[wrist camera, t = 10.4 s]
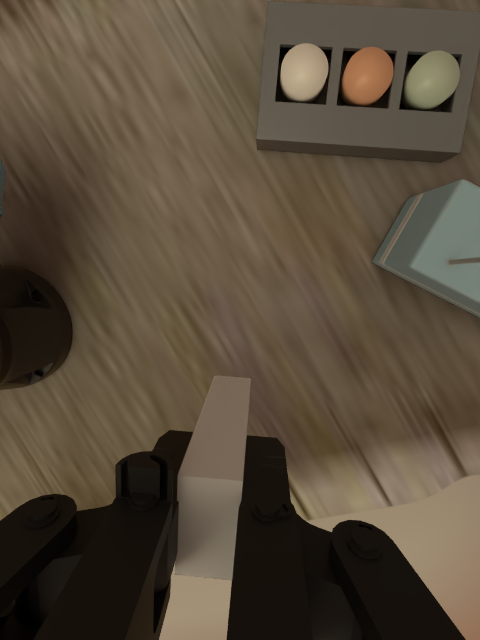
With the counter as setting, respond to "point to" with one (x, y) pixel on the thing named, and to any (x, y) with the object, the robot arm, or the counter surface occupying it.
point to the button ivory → (303, 73)
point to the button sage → (430, 81)
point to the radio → (438, 244)
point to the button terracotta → (366, 77)
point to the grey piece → (390, 124)
